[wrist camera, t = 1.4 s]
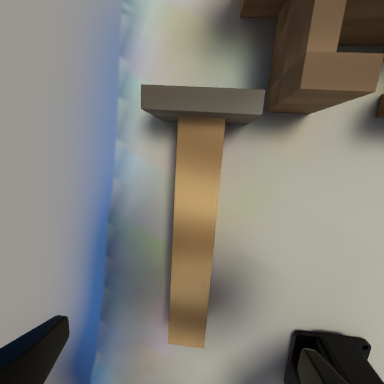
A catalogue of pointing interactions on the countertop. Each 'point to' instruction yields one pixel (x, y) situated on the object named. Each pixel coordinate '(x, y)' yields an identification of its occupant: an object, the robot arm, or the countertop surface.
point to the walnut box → (321, 52)
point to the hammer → (196, 190)
